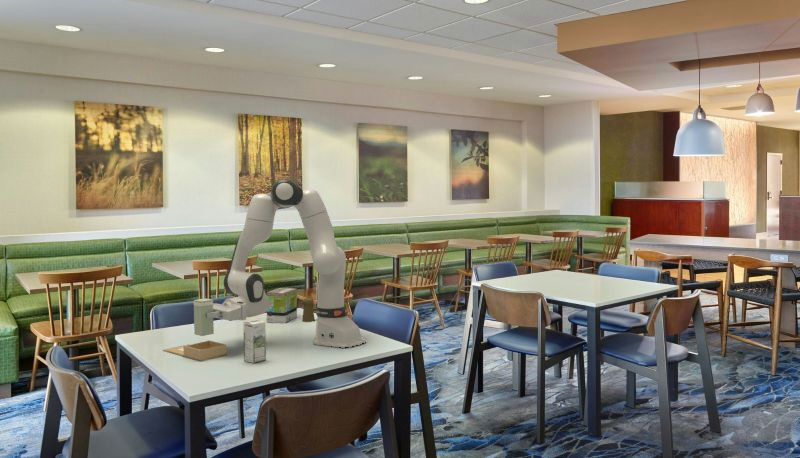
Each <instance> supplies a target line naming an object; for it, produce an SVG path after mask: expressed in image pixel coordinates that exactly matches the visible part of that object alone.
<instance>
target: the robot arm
mask: <svg viewBox="0 0 800 458" xmlns="http://www.w3.org/2000/svg"><path fill="white" fill-rule="evenodd" d="M291 207H294V208H295V209H296V210H297V212H298V214H299V217H300V220H301V223H302V226H303V228H304V231H305V233H306V237H307V240H308V246H309V250H310V255H311V259H312V265H313V268H314V270H315V271H316V272H317V273H318V282H317V288H316V290H317V291H316V295H317V297H316V301H317V306H316V310H315V313H316V315H315V316H317V317H316V318H317V320H316V324H315V335H314V340H313V344H314V345H317V346H324V347H331V346H332V348H339V347H341V348H340V349H346V348H345V347H349V348H353V347H352V346H354V347H357V346H356V345H358V346H361V345H363V344H362V343H364V344H366V343H367V342H366V341H367V339H366V338H363V337H362V336H361V335H362V334H361V330H360V327H359V325H358V324H356V323H355V322H354V321H353V320H352V319H351V317H349V315H348V313H349V312H350V309H349V308H348V309H347V307H346V306H345V279H346V263H347V257H346V256H347V255H346V253H345V250H344V249H343V248H341V247H340V246H338V245H337V242H336V241H337V240H336V238H335V233H334V231H335V230H334V227H333V224H332V222H331V218H330V216H329V214H328V211H327V208H326V205H325V203H324V201H323V199H322V197H321V195H320V193H319V192H318V191H317V190H315V189H311V188H309V189H308V188H307V189H302V188H301V187H300V186H299V185H297V183H295V182H294V181H292V180H291V179H289V178H281V179H278V180H276V181H275V182H274V183H273V185H272V186H271V189H270V191H269V192H268V193H256V194H254V195H253V196H252V197H251V199H250V203H249V205H248V208H247V212H246V217H245V222H244V225H243V229H242V231H241V233H239V236H238V238H237V240H236V243H235V246H234V250H233V253H232V258H231V261H230V265H229V268H228V270H227V271H226V274H225V276H224V278H223V287H224V289H225V291H226V292H227V293H228V294H230V295H235V297H230V298H225V300H224V301H223V302H222V303H214V302H213V312H212V313H210V312H209V313H206V318H213V319H215V318H216V319H221V320H225V321H229V322H233V321H246V320H247V318H254V317H257V316H260V315H263V314H265V313H267V310H268V308H269V304H270V302H269V298H268V296H267V293H266V292H265V282H264V279H263V277H262V275H260V274H258V273H254V272H247V271H246V266H247V262H248V259H249V256H250V255H249V254H250V252H251V251H252V249H253V248H254V247H255V246H258V245H260V244H263V243H265V242H266V241H268V240H269V238H270V237H271V235H272V233H273V228H274V221H275V216H276V213H277V211H278V210H282V209H288V208H289V209H290V208H291ZM365 342H366V343H365ZM360 344H361V345H360Z"/></svg>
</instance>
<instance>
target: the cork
mask: <svg viewBox="0 0 800 458" xmlns="http://www.w3.org/2000/svg"><path fill="white" fill-rule="evenodd" d="M302 304H303V310H302V318H301V319H302V320H301V321H302V322H304V323H311V322H312V321H313V322H315V314H314V307H313V305H314V299H313V298H311V297H305V298H303V299H302ZM313 322H312V323H313Z"/></svg>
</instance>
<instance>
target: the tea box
mask: <svg viewBox="0 0 800 458" xmlns="http://www.w3.org/2000/svg"><path fill="white" fill-rule="evenodd" d="M297 289H298V288H289V287H288V288H287V287H278V288H275V289H273V290H269V291H267V292H266V295H267V296H268V298H269V302H270V304H269V308H268V310H267V311H266V323H273V324H286V323H287V322H290V321H292V320H294V319H296V318H297V317H298V290H297Z"/></svg>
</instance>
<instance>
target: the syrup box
mask: <svg viewBox="0 0 800 458" xmlns="http://www.w3.org/2000/svg"><path fill="white" fill-rule="evenodd" d="M266 332H267V330H266V321H264V320H260V319H254V320H249V321H244V322H243V361H244V362H248V363H251V364H255V363H259V362H264V361H266V359H267V356H266V355H267V354H266V353H267V352H266V350H267V347H266V345H267V344H266V343H267V342H266V339H267V337H266Z"/></svg>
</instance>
